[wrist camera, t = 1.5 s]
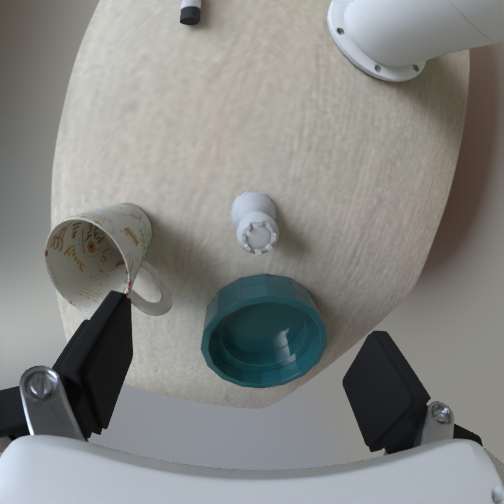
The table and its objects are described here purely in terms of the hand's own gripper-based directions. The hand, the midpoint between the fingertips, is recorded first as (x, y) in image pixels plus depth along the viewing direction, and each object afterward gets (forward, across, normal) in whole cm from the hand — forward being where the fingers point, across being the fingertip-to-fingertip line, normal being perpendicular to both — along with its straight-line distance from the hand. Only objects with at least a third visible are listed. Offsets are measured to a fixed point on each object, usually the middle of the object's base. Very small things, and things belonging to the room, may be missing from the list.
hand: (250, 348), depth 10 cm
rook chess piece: (+19, -1, -1) cm, 19 cm away
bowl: (+19, -5, +12) cm, 23 cm away
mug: (+19, +10, +5) cm, 22 cm away
